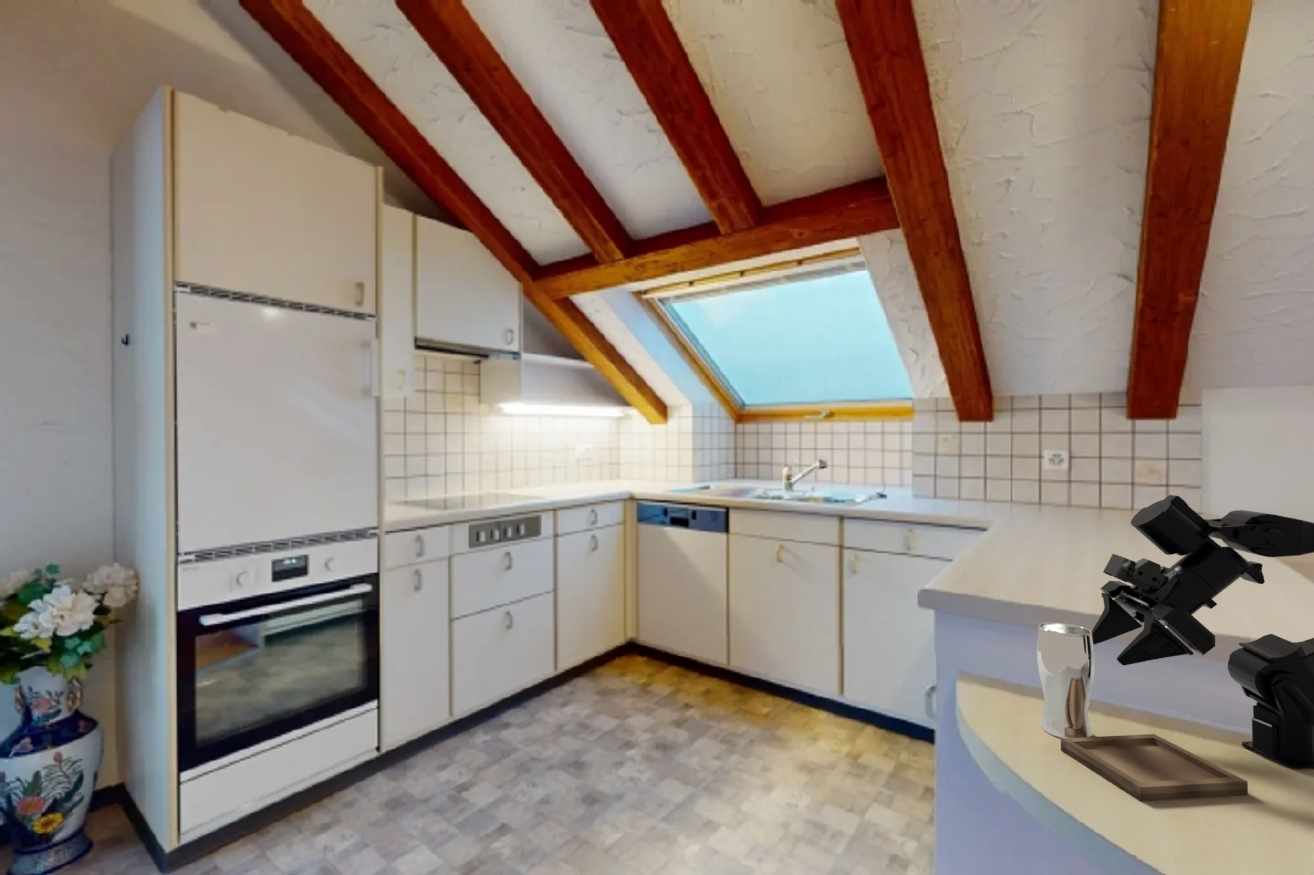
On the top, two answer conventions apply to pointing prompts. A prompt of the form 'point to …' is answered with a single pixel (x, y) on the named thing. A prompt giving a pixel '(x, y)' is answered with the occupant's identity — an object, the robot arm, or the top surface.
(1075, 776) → the top surface
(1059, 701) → the silver metal tumbler
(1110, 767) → the walnut tray
